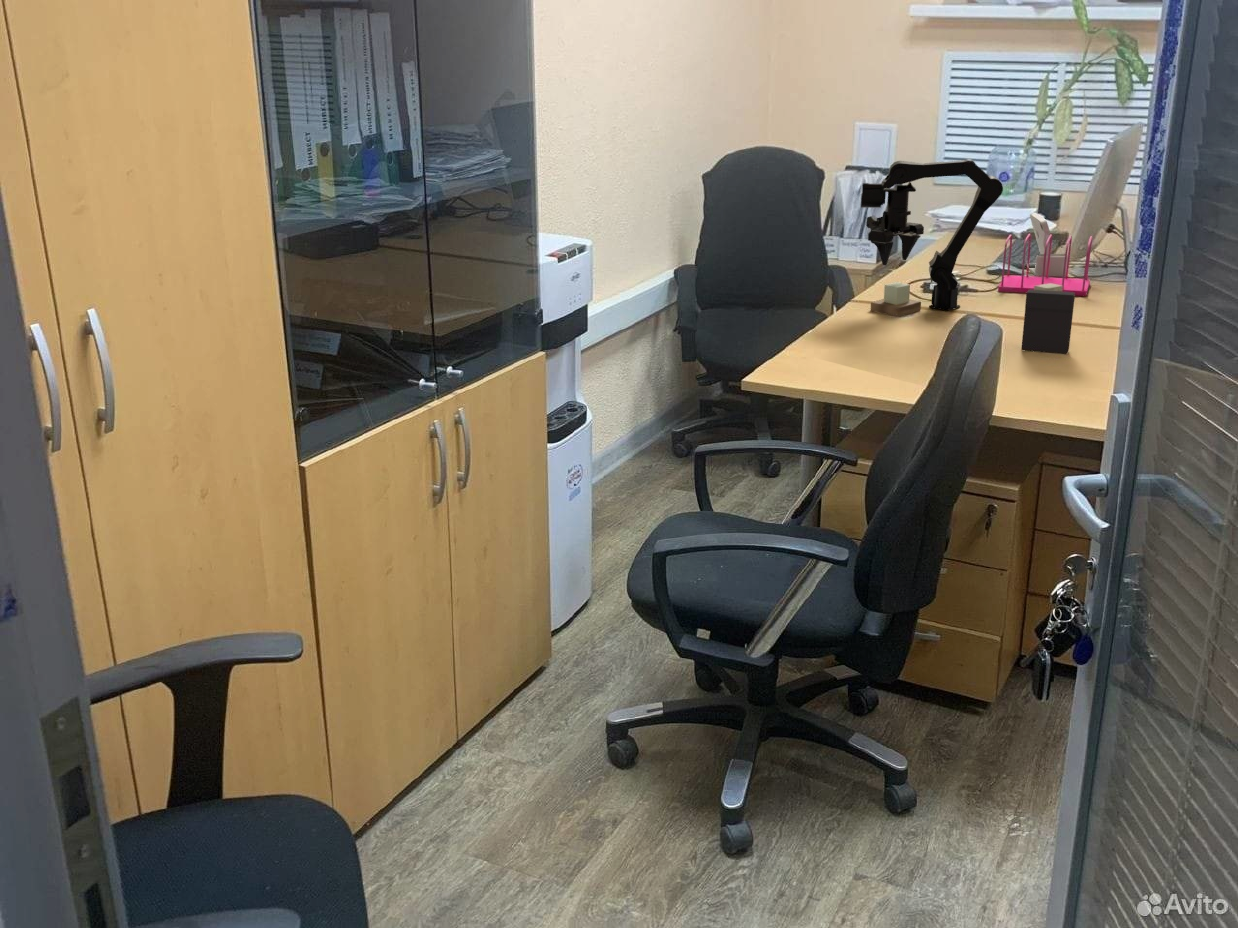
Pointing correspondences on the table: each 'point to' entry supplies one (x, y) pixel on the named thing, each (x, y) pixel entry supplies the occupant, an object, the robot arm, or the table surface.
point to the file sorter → (1028, 282)
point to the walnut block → (895, 307)
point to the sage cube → (896, 293)
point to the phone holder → (1042, 236)
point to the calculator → (1048, 321)
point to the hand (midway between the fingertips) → (894, 262)
